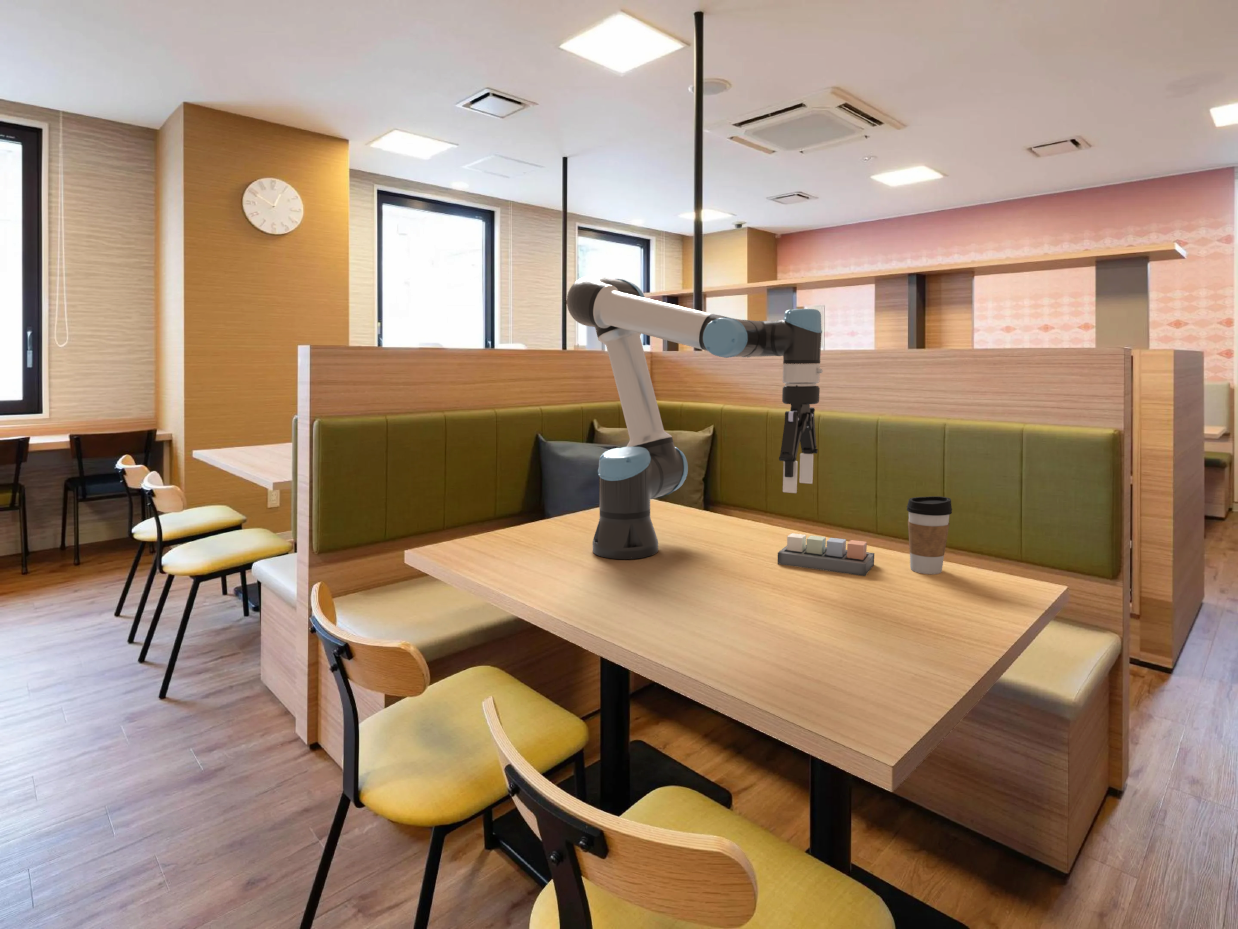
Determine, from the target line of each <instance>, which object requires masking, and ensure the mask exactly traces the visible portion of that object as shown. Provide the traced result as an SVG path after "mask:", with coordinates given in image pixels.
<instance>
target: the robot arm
mask: <svg viewBox="0 0 1238 929" xmlns="http://www.w3.org/2000/svg"><path fill="white" fill-rule="evenodd" d="M566 295H567V296H566V306H567V311H568V312H569V314H570V316H571V317H572V318H573V320H575V321H576V322H577V323H578V324H580V325H582V326H586V327H592V328H593V327H594V328H595V332H596V336H597V339H598V341H599V342H600V343H602V344H604V345H605V348H606V350H607V355H608V358H609V362H610V367H611V370H612V375H613V377H614V381H615V385H616V389H617V393H618V397H619V401H620V405H621V409H622V413H623V417H624V421H625V425H626V428H627V433H628V438H629V441H628V443H627V445H626V446H622V447H616V448H615V447H614V448H611V449H609V450H606V451H604V452H603V453H602V454H601V455H600V456H599V460H598V469H597V474H598V493H599V494H598V495H599V496H598V500H599V501H598V502H599V504H598V505H599V506H598V507H599V519H598V523H597V526H596V529H595V532H594V534H593V535H594V536H593V539H592V552H593V554H595V555H596V556H598V557H602V558H606V559H612V560H613V559H614V560H633V559H634V560H635V559H642V558H648V557H651V556H653V555H656V554H657V553H658V551H659V540H658V536H657V534H656V530H655V528H654V524H653V522H652V518H651V500H652V499H656V498H658V497H663V496H668V495H670V494H672V493H673V492H676V491H677V490H678V489H680V488H681V487H682V486H683V484H684V483H685V480H686V479H687V477H688V473H689V472H688V471H689V465H688V460H687V458H686V455H685V454H684V452H683V451H682V450H680V448H678V447H677V446H675V443H674V440H673V436H672V435H671V434H670V433H668V432H666V431H665V428H664V425H663V422H662V418H661V413H660V409H659V405H658V401H657V398H656V394H655V389H654V386H653V383H652V382H653V381H652V378H651V375H650V370H649V366H648V361H647V358H646V354H645V352H644V351H645V350H644V346H643V343H642V338H641V334H642V335H646V336H649V337H653V338H656V339H661V340H665V341H667V342H668V341H669V342H672V343H675V344H676V343H677V344H681V345H683V346H688V347H690V348H695V349H699V350H702V351H705V352H709V353H710V354H711V355H713V356H716V357H720V358H725V359H727V358H739V357H740V358H752V357H753V358H754V357H755V358H756V357H757V358H758V357H782V358H783V360H782V364H783V365H782V383H783V384H785V385H783V387H782V392H781V393H782V394H781V395H782V396H781V400H782V403H783V404H784V405H790V410H789V411H787V410H786V411H785V412H784V425H783V432H782V433H783V434H782V438H781V439H782V440H781V448H780V453H779V457H778V460H779V461H780V462H782V463H783V468H782V469H783V470H782V473H783V474H782V492H783V493H790V494H797V492H798V491H797V490H798V462H799V483H800V484H808V485H809V484H811V485H813V480H814V479H813V477H814V454H818V451H819V450H818V448H817V446H818V445H817V438H816V424H815V411H816V410H815V407H814V406H813V407H811V405H817V404H818V403H820V391H821V390H820V386H819V385H817V384H819V383H820V380H821V377H820V376H821V374H823V372H824V370H823V368H821V355H822V354H821V350H822V334H823V330H822V329H823V328H822V313H821V311H820V310H818V309H816V308H794V309H787V310H785V312H784V315H783V318H782V319H780V320H779V319H777V320H750V319H738V318H733V317H728V316H725V315H724V316H723V315H720V314H715V313H711V312H707V311H703V310H702V311H701V310H697V309H694V308H690V307H684V306H681V305H677V304H672V303H668V302H664V301H659V300H655V299H651V298H648V297H645V295H644V293H643V291H642V290H641V289H640V287H638V286H637V285H636V284H635V283H633V282H631V281H627V280H626V279H623V278H622V279H620V278H609V277H603V276H598V275H586V276H583V277H581V278H578V279H577V280H576V281H574V282H573V284H571V286H570V287H569V290H568V292H567V294H566ZM799 446H800V449H801V452H800V454H799V461H797V457H798V451H799Z"/></svg>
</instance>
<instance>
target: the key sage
mask: <svg viewBox="0 0 1238 929" xmlns="http://www.w3.org/2000/svg"><path fill="white" fill-rule="evenodd" d="M826 538H827V537H826V536H818V535H809V536H808V537H806V545H807V548H806V553H814V554H823V553H824V552H825V548H826V547H827V540H826Z"/></svg>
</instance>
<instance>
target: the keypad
mask: <svg viewBox="0 0 1238 929" xmlns="http://www.w3.org/2000/svg"><path fill="white" fill-rule="evenodd" d="M806 548H807V544H806ZM826 551H827V546H826V548H825V552H824V553H823V554H814V553H806V549H804V550H803V551H802V552H799V551H791V550H787V545H785V546H784V547H783V548H782V549H780V550H779V551H778V552H777V565H782V566H790V567H797V568H804V569H811V570H819V571H824V572H825V571H826V572H833V573H840V574H847V575H854V576H862V577H866V575H867V574H868V573H869V572H870V571H871V569H872V568H873V567H874V565H875V553H874V552H868V551H866V557H865V558H864V559H863V560H861V559H853V558H847V549H846V553H845V554H844V555H843V557H838V556H830V555H826Z"/></svg>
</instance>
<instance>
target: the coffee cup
mask: <svg viewBox="0 0 1238 929" xmlns="http://www.w3.org/2000/svg"><path fill="white" fill-rule="evenodd" d="M906 511H908V520H907V527H908V528H907V529H908V543H909V544H908V546H909V548H908V549H909V567H910V570H911V571H912V572H915V573H918V574H922V575H923V574H924V575H938V574H941V573H942V571H943V566H944V558H945V555H946V554H945V552H946V546H947V540H948V534H949V528H950V522H949V521H950V515H951V514H953V508H952V499H951V497H946V496H938V495H936V496H933V495H932V496H917V497H916V496H915V497H911V498H908V502H907V505H906Z"/></svg>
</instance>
